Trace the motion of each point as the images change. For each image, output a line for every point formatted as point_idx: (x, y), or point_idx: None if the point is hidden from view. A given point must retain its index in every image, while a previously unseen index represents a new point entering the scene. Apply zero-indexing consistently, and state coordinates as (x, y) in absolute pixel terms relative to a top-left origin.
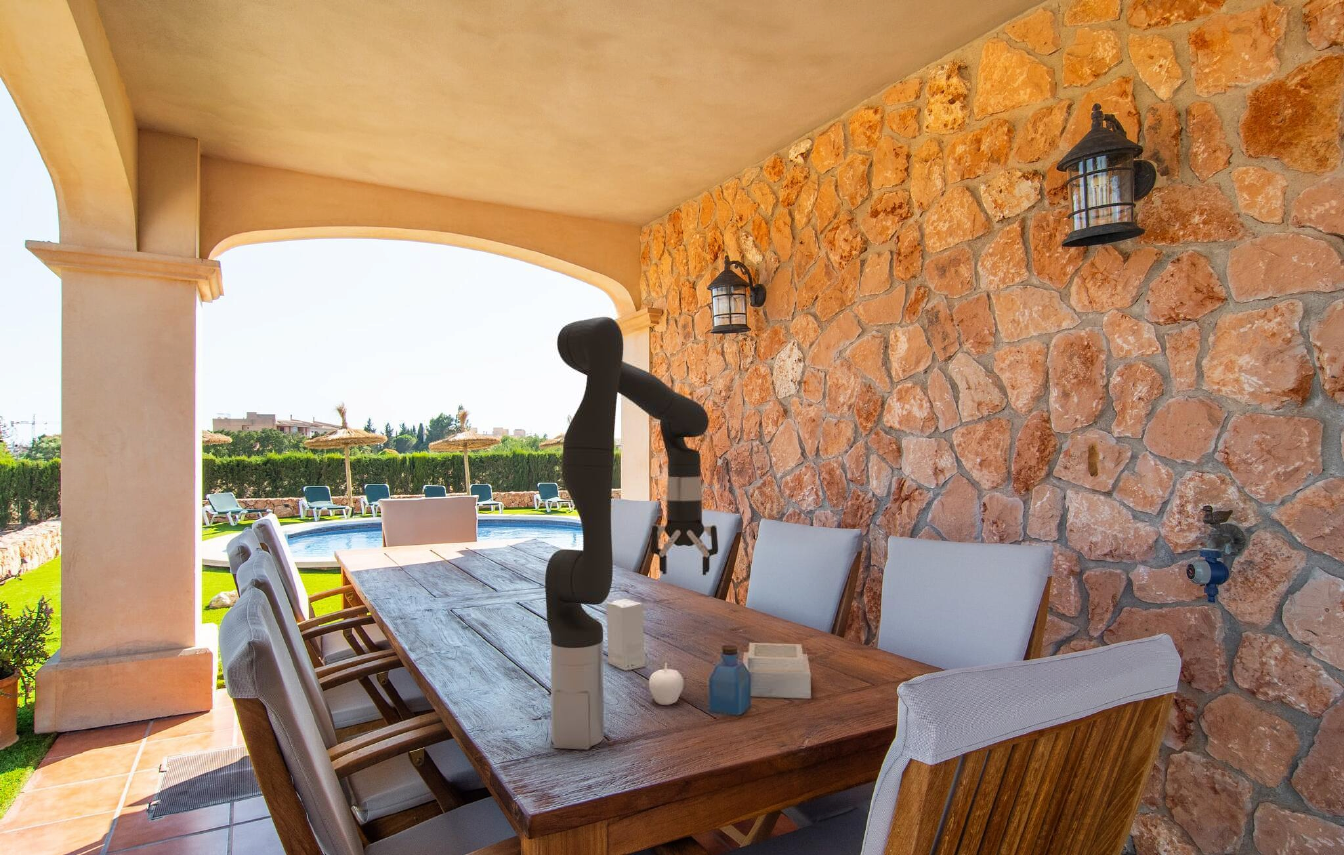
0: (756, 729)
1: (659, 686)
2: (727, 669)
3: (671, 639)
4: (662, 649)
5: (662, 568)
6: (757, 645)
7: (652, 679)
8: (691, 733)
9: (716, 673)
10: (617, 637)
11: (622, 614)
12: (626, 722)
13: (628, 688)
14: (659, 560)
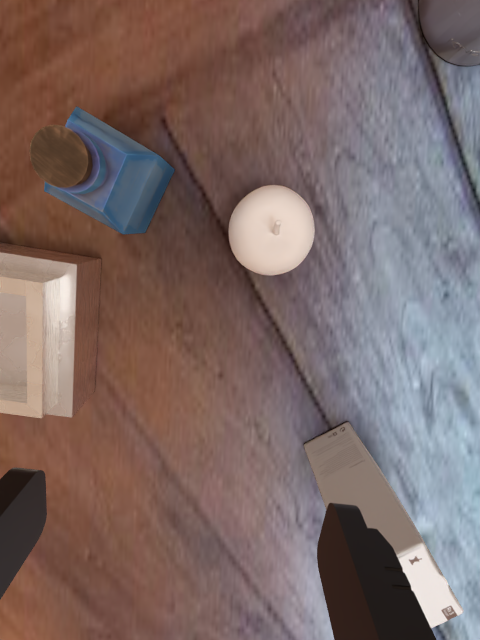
0: (71, 39)
1: (290, 189)
2: (95, 131)
3: (242, 601)
4: (262, 545)
5: (372, 538)
6: (21, 400)
7: (309, 212)
8: (219, 21)
9: (133, 148)
10: (389, 486)
11: (410, 523)
12: (360, 103)
13: (344, 318)
14: (431, 633)
